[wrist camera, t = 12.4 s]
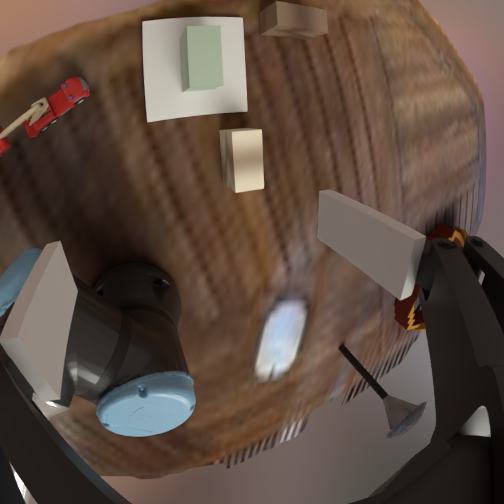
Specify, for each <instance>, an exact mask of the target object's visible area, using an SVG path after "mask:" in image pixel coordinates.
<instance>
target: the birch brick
mask: <svg viewBox="0 0 504 504" xmlns="http://www.w3.org/2000/svg"><path fill="white" fill-rule="evenodd" d="M219 133H220V147H221V161H222V174H223V183H224V184H225V185H226V186H228V187H229V188H230V189H232V190H233V191H234V192H235V193H237V192H243V191H250V190H257V189H264V174H263V148H262V130H260V129H251V128H238V129H227V130H219Z"/></svg>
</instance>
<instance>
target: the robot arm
mask: <svg viewBox="0 0 504 504" xmlns="http://www.w3.org/2000/svg"><path fill="white" fill-rule="evenodd" d="M317 238H318V239H319V240H321V241H322V242H323V243H325V244H326V245H328V246H329V247H330V248H332V249H333V250H334V251H336V252H337V253H338V254H340V255H341V256H343V257H344V258H345V259H347V260H348V261H349V262H351V263H352V264H353V265H355V266H356V267H357V268H359V269H360V270H361V271H363V272H364V273H365V274H367V275H368V276H369V277H370V278H372V279H373V280H374V281H376V282H377V283H378V284H380V285H381V286H382V287H383V288H385V289H386V290H387V291H389V292H390V293H391V294H392V295H394V296H395V297H396V298H397V299H399V300H402V299H405V298H407V297H409V296H411V295H412V292H413V288H414V285H415V283H417V284H418V285H419V286H420V289H419V292H418V296H417V299H416V302H415V305H414V309H416V308H417V306H418V305H419V304H421V306H420V309H419V310H422V314H423V319H424V324H425V329H426V335H427V340H428V347H429V353H430V359H431V367H432V376H433V384H434V395H435V408H436V427H435V430H434V433H433V435H432V438H431V442H430V444H429V445H427V446H426V447H425V448H424V449H423V450H421V451H420V452H419V453H418V454H416V455H415V456H414V457H413V458H411V459H410V460H409V461H408V462H407V463H406V464H405V465H404V466H403V467H402V468H401V469H399V471H397V472H396V473H395V474H394V475H393V476H392V477H390V478H389V479H388V480H387V481H386V482H384V483H383V484H382V485H381V486H380V487H379V488H377V489H376V490H375V491H374V492H373V493H372V494H371V495H370V496H369V497H368V498H365V499H362V500H360V501H356V502H353V503H350V504H504V258H503V257H502V256H501V255H500V254H499V253H498V252H497V251H495V250H494V249H493V248H492V247H491V246H490V245H489V244H487V242H485V241H484V240H482V239H481V238H480V237H477V236H467V237H466V238H465V241H464V245H463V247H459V246H458V245H457V244H456V243H455V242H453V241H451V240H449V239H447V238H434V239H433V240H432V242H431V241H429V240H428V239H426V236H424V235H423V234H421V233H419V232H417V231H415V230H413V229H411V228H409V227H408V226H406V225H404V224H402V223H400V222H398V221H396V220H394V219H392V218H390V217H388V216H386V215H384V214H382V213H380V212H378V211H376V210H374V209H372V208H370V207H368V206H365V205H363V204H361V203H359V202H357V201H355V200H353V199H351V198H348V197H346V196H344V195H342V194H340V193H337V192H335V191H333V190H324V191H319V211H318V232H317ZM482 271H483V272H484V273H485V277H484V280H483V282H482V285H480V283H479V281H478V280H479V277H480V275H481V272H482ZM180 314H181V301H180V297H179V293H178V290H177V287H176V285H175V283H174V282H173V280H172V279H171V278H170V277H169V276H168V275H167V274H166V273H165V272H163V271H162V270H160V269H158V268H156V267H154V266H152V265H149V264H144V263H125V264H121V265H118V266H115V267H113V268H111V269H109V270H108V271H107V272H105V273H104V274H103V275H102V276H101V277H100V278H99V280H98V281H97V283H96V284H95V287H94V289H92V288H91V287H89V286H88V285H87V284H85V283H84V282H83V281H81V280H80V279H79V278H77V277H76V276H75V275H74V274H73V273H71V271H70V268H69V266H68V263H67V260H66V257H65V254H64V251H63V247H62V244H61V241H57V242H53V243H49V244H47V245H46V246H45V248H44V250H41V249H39V248H30V249H27V250H25V251H24V252H23V253H22V254H20V255H19V256H18V258H17V259H16V260H15V261H14V262H13V263H12V264H11V265H10V266H9V267H8V269H7V270H6V271H5V272H4V273H3V275H2V276H1V277H0V504H29V501H30V495H32V496H33V498H34V499H35V501H36V502H37V503H38V504H131V503H130V502H129V501H127V500H126V499H125V498H124V497H123V496H121V495H120V494H119V493H118V492H117V491H116V490H114V489H113V488H112V487H111V486H110V485H109V484H108V483H106V482H105V481H104V480H103V479H102V478H101V477H100V476H99V475H98V474H97V473H96V472H95V471H94V470H93V469H92V468H91V467H90V466H89V465H88V464H87V463H86V462H85V461H84V460H83V459H82V458H81V457H80V456H79V455H78V454H77V453H76V452H75V451H74V450H73V449H72V448H71V447H70V445H69V444H68V443H67V442H66V441H65V440H64V439H63V437H62V436H61V435H60V434H59V433H58V432H57V430H56V429H55V428H54V427H53V425H52V424H51V423H50V422H49V420H50V417H52V416H53V415H55V414H58V413H60V412H63V411H66V410H68V408H69V406H70V403H71V400H72V397H73V395H74V394H75V395H77V396H80V397H82V398H84V399H86V400H88V401H90V402H92V403H94V404H96V405H97V406H96V414H97V416H98V418H99V420H100V421H101V422H102V425H103V426H104V427H105V428H107V429H108V430H110V431H112V432H114V433H117V434H121V435H125V436H150V435H154V434H159V433H163V432H166V431H169V430H171V429H173V428H175V427H177V426H179V425H180V424H182V423H183V422H184V421H185V420H187V419H188V417H189V416H190V415H191V414H192V412H193V410H194V408H195V402H196V398H195V393H194V388H193V379H192V377H191V376H190V373H189V370H188V367H187V364H186V360H185V357H184V354H183V350H182V347H181V343H180V340H179V336H178V333H177V327H178V323H179V319H180ZM490 433H491V437H487V436H488V435H489V434H490Z"/></svg>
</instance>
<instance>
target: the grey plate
mask: <svg viewBox="0 0 504 504" xmlns="http://www.w3.org/2000/svg"><path fill="white" fill-rule="evenodd" d="M187 26H221V45H222V65H223V83H224V85H222V86H220V87H217V88H215V89H212V90H203V91H192V92H182V78H181V59H180V38H181V36H182V34H183V32H184V31H185V29H186V27H187ZM142 39H143V69H144V87H145V101H146V113H147V122H153V121H159V120H165V119H172V118H180V117H188V116H197V115H206V114H217V113H230V112H247V91H246V72H245V52H244V33H243V18H239V17H188V18H172V19H160V20H151V21H143V22H142Z"/></svg>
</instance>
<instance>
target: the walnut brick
mask: <svg viewBox="0 0 504 504" xmlns="http://www.w3.org/2000/svg"><path fill="white" fill-rule="evenodd" d="M259 22H260V35H269V36H280V37H289V38H297V39H305V40H308V39H311V38H314V37H317V36H320V35H323V34H326V33H328V26H327V15H326V10H322V9H318V8H313V7H308V6H303V5H298V4H293V3H286V2H280V1H275V2H274V3H272V4H271V5H269V6H268V7H267V8H265V9H264V10H262V11H261V12H260V13H259Z"/></svg>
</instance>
